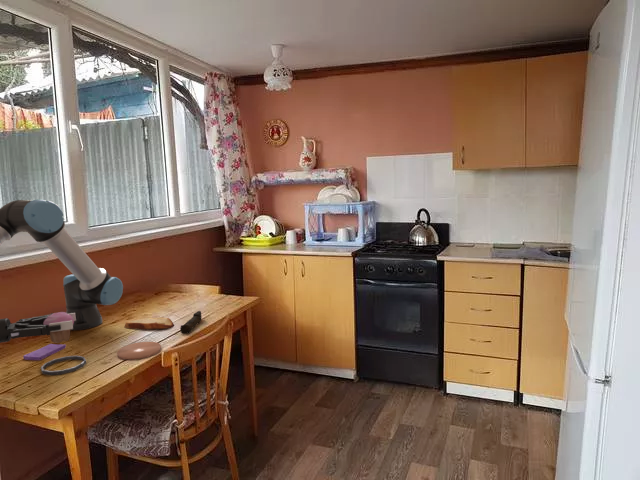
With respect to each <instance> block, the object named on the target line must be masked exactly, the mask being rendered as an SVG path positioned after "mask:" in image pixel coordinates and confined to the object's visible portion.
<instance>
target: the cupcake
mask: <svg viewBox="0 0 640 480" xmlns="http://www.w3.org/2000/svg"><path fill="white" fill-rule="evenodd" d="M50 314H51V313H50ZM50 314H49V315H50ZM71 320H72V323H73V324H74V320H73V317H72V316H71V315H69V314H67V313H66V311H60V312H54V314H51V315H50V316H48V317H47V319H46V320H44V323H43V325H49V324H50V323H57V322H64V321H71ZM49 326H50V325H49ZM70 334H71V330H70V329H69V330H62V331H55V332H50V335H49V338H50V340H51V342H52V343H53V344H60V343H62V342H67V341H69V339H70V336H71V335H70Z"/></svg>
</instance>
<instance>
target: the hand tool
mask: <svg viewBox="0 0 640 480" xmlns="http://www.w3.org/2000/svg"><path fill="white" fill-rule="evenodd" d="M192 315H193V316H192V317H191V318H190V319H189V320H187V321H185V323H184V324H183V325H180V334H183V335H184V334H190V333H191V331H192V329H193V328H195V327H196V325H198V324H200V323H201V322H202V311H201V310H198V311H196V312H195V313H193V314H192Z"/></svg>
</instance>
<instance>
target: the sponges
mask: <svg viewBox="0 0 640 480" xmlns="http://www.w3.org/2000/svg"><path fill="white" fill-rule="evenodd" d="M66 347H67V344H62V343H61V344H60V343H49V344H47V345H45V346H43V347H40V348H39V349H36V350H33V351H31V352H29V353H26V354H24V355H23V356H22V357H23V360H26V361H27V360H28V361H29V360H30V361H42V360H43V359H45V358H47V357H50V356H52V355H55V354H56V353H58V352H60V351H62V350H64V349H66Z"/></svg>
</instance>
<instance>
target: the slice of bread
mask: <svg viewBox="0 0 640 480" xmlns="http://www.w3.org/2000/svg"><path fill="white" fill-rule="evenodd" d="M174 326H175V324H174V322H173V321H172V319H171V318H169V317H151V318H149V317H147V318H139V319H131V320H130V321H126V322H125V324H124V328H126V329H131V330H142V331H143V330H145V331H146V330H148V331H158V330H159V331H160V330H167V329H172V328H173V327H174Z"/></svg>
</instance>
